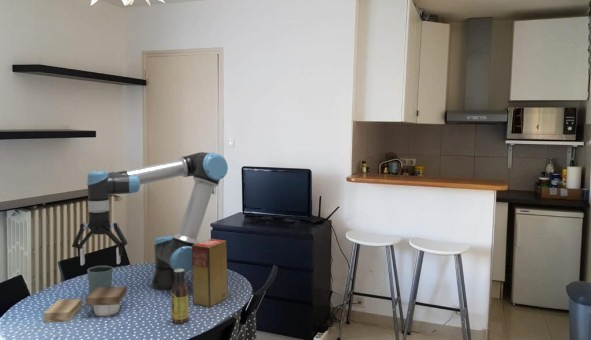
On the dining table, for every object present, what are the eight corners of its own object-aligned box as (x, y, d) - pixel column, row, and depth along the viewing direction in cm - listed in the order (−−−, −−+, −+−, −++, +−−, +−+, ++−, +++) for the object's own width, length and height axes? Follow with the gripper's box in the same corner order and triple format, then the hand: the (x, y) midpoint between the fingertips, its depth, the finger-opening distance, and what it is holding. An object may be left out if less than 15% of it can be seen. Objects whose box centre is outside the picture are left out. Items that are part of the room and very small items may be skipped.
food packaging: (211, 293, 202) (210, 238, 200) (228, 297, 198) (228, 240, 195) (191, 303, 190) (190, 244, 188) (210, 307, 186) (209, 247, 184)
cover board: (126, 293, 187) (126, 286, 187) (118, 304, 176) (118, 296, 175) (95, 294, 186) (95, 287, 186) (85, 305, 174) (85, 298, 174)
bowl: (121, 306, 186) (121, 294, 186) (115, 315, 177) (115, 303, 177) (99, 307, 185) (98, 295, 185) (91, 316, 176) (91, 304, 176)
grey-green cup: (84, 295, 199) (83, 268, 198) (107, 289, 206) (106, 263, 205) (94, 301, 192) (93, 273, 191) (117, 295, 199) (116, 268, 198)
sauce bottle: (173, 317, 176) (172, 267, 174) (189, 317, 176) (189, 266, 175) (170, 324, 169) (169, 272, 168) (187, 324, 170) (186, 272, 168)
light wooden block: (82, 307, 186) (81, 298, 186) (69, 321, 172) (68, 312, 172) (59, 307, 185) (58, 299, 185) (44, 322, 171) (43, 313, 171)
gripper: (134, 208, 184) (135, 260, 186) (68, 209, 181) (71, 262, 183) (129, 211, 177) (131, 265, 178) (61, 213, 173) (64, 267, 175)
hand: (100, 263), depth 181 cm, fingers open, 13 cm apart
